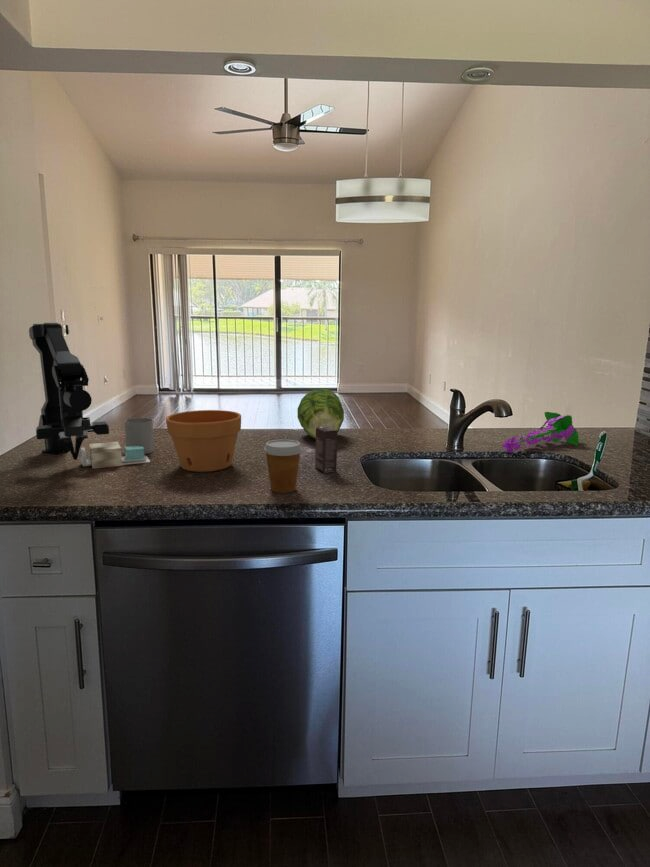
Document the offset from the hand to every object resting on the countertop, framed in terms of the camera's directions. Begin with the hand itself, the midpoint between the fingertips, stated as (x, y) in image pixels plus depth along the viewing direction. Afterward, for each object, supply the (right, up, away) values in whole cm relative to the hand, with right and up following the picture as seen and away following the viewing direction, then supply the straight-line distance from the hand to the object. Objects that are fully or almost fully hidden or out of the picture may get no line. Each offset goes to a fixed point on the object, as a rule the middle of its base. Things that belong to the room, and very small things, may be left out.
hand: (75, 459), depth 167 cm
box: (+72, -3, 0) cm, 72 cm away
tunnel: (+7, -1, +4) cm, 8 cm away
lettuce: (+70, +5, +39) cm, 80 cm away
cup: (+13, +2, +19) cm, 23 cm away
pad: (+15, -1, +7) cm, 16 cm away
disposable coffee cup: (+61, -7, -18) cm, 64 cm away
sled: (+10, -1, +5) cm, 11 cm away
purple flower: (+145, +2, +30) cm, 148 cm away
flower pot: (+37, -2, +3) cm, 37 cm away
